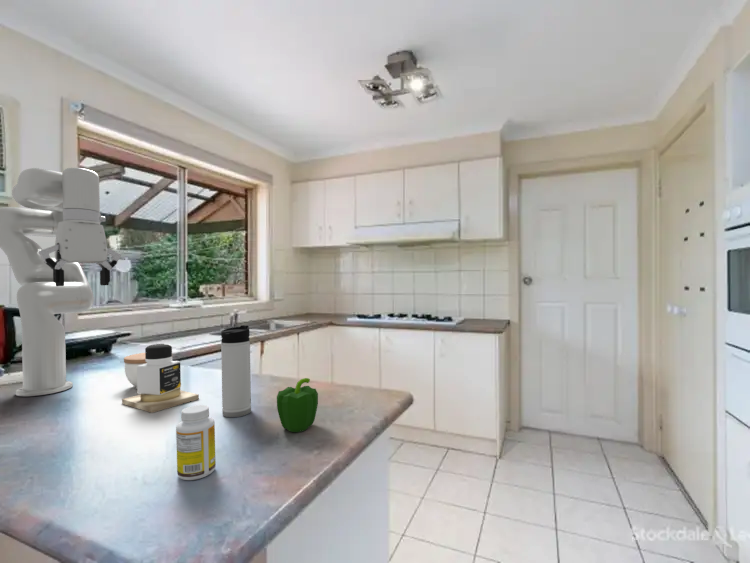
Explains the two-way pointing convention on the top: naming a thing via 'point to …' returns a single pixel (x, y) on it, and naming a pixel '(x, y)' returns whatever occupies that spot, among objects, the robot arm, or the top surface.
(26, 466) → the top surface
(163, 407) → the board
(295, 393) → the bell pepper
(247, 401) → the travel mug
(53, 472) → the top surface
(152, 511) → the top surface
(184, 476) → the supplement bottle
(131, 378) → the lidded bowl
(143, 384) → the medicine bottle
